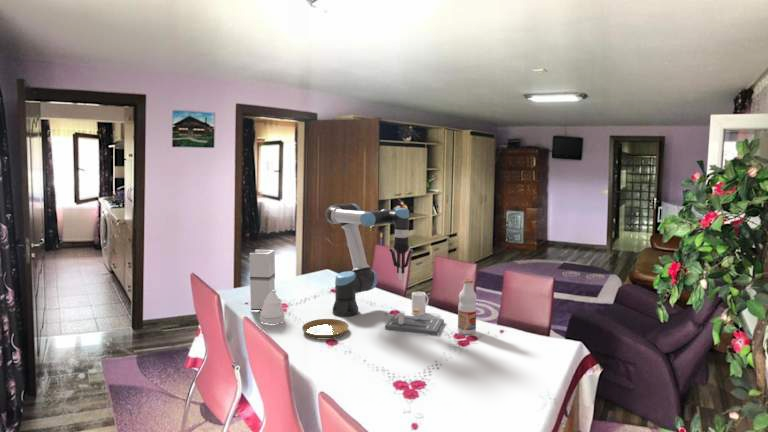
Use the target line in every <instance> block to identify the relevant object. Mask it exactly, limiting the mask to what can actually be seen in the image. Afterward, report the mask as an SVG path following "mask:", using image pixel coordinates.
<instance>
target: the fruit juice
mask: <svg viewBox="0 0 768 432" xmlns="http://www.w3.org/2000/svg"><path fill="white" fill-rule="evenodd" d="M462 283H463V288H462V290H461V291H460V292H459V294H458V298H459V299H458V300H459V302H458V308H457V312H458V313H457V317H458V318H457V331H458V333H460V334H461V335H462V334H463V335H473V334H475V333H476V330H477V304H476V302H477V294H476V292H475V290H474V287H473V284H474V281H473V279H471V278H465V279H463V282H462Z"/></svg>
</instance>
